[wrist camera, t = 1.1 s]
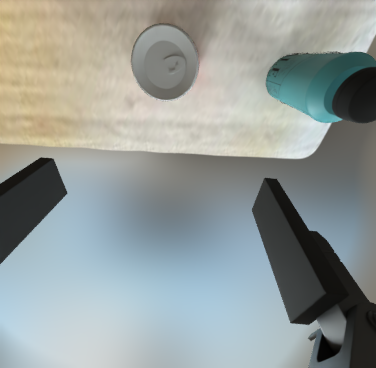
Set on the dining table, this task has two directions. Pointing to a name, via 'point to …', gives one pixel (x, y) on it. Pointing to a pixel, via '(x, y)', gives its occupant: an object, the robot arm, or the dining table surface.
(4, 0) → the dining table surface
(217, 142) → the dining table surface
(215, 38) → the dining table surface
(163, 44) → the canned food
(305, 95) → the beverage bottle
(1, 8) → the dining table surface
